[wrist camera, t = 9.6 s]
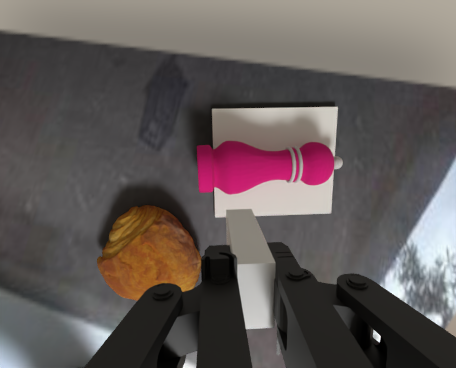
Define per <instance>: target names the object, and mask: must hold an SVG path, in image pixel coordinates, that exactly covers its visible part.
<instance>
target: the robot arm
mask: <svg viewBox="0 0 456 368" xmlns="http://www.w3.org/2000/svg"><path fill="white" fill-rule="evenodd" d="M226 228H227V245H216V246H209V247H208V248H207V249H206V250H205V255H204V256H202V258H201V273H202V282H201V284H200V285H199V286H197V287H195V288H194V289H191V290H188V291H184V292H182V290H181V288H180V287H179V286H178V285H176V284H172V283H161V284H157V285H155V286H152V287H150V288H149V289H148V290H146V291H145V292H144V293H143V295H142V296H141V297H140V298H139V300H138V301H137V302H136V303H135V305H134V306H133V307H132V308H131V310H130V311H129V312H128V313H127V315H126V316H125V317H124V319H123V320H122V321H121V322H120V324H119V325H118V326H117V327H116V329H115V330H114V331H113V332H112V334H111V335H110V336H109V337H108V339H107V340H106V341H105V342H104V344H103V345H102V346H101V347H100V349H99V350H98V351H97V352H96V354H95V355H94V356H93V357H92V359H91V360H90V361H89V362H88V364H87V365H86V366H85V367H84V368H183V365H184V363H185V358H186V354H189V353H192V352H195V351H197V366H196V368H252V363H251V357H250V351H249V345H248V339H247V333H246V329H257V328H274V316H275V319H276V322H277V355H280V349H281V352H282V355H283V359H284V362H285V365H286V368H456V337H455V336H453V335H451V334H450V333H448V332H447V331H446V330H444V329H443V328H441V327H440V326H438V325H437V324H436V323H434V322H433V321H431V320H430V319H428V318H427V317H425V316H424V315H422V314H421V313H419V312H418V311H416V310H415V309H414V308H412V307H411V306H409V305H408V304H406V303H405V302H403V301H402V300H400V299H399V298H397V297H396V296H394V295H393V294H392V293H390V292H389V291H387V290H386V289H384V288H383V287H381V286H380V285H378V284H377V283H375V282H374V281H372V280H371V279H369V278H367V277H364V276H361V275H359V274H343V275H341V276H339V277H338V278H337V285H334V284H327V283H321V282H318V281H317V280H316V278H315V277H314V275H313V274H312V273H311V272H310V271H308V270H306V269H303V268H301V267H300V266H299V264H298V262H297V261H296V259H295V258H294V256H293V254H292V253H291V251H290V249H289V248H288V246H286V245H285V244H283V243H282V242H273V243H266V240H265V238H264V236H263V234H262V231H261V229H260V227H259V225H258V222H257V220H256V218H255V216H254V213H253V211H252V209H232V210H226ZM373 329H374V330H375V331H376V332H377V333H378V334H379V335H380V336H381V340H380V343H379V342H378V341H376V340H375V339H374V338H373Z"/></svg>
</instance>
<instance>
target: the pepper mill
mask: <svg viewBox="0 0 456 368" xmlns="http://www.w3.org/2000/svg"><path fill="white" fill-rule="evenodd" d="M197 162H198V181H199V192H200V193H203V192H212V191H213V189H214V187H216V188H218V189H220V190H221V191H223V192H224V193H226V194H229V195H232V194H239V193H242V192H244V191H247V190H249V189H251V188H253V187H255V186H257V185H259V184H261V183H264V182H267V181H272V180H286V182H287V183H292V182H294V183H298V182H299V181H300V180H301V181H302V182H303V183H305V184H307V185H314V186H315V185H319V184H322V183H324V182H326V181H327V180H328V179H329V178H330V177H331V175H332V173H333V170H334V169H339V168H340V167H341V166H342V164H343V161H342V159H341V158H340V157H338V156H335V157H334V156H333V154H332V152H331V150H330V149H329V148H328V147H327V146H326V145H324V144H322V143H319V142H308V143H306V144H304V145H303V146H301V147H300V148H298V147H296V146H294V147H286V148H285V150H281V151H265V150H261V149H258V148H255V147H253V146H250V145H248V144H245V143H243V142H239V141H225V142H223V143H222V144H220V145H219V146H218V147H217V148H215V149H212V148H211V146H210V145H198V146H197Z"/></svg>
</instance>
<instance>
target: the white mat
mask: <svg viewBox="0 0 456 368" xmlns="http://www.w3.org/2000/svg"><path fill="white" fill-rule="evenodd" d="M337 112H338V107H299V108H237V109H212V127H213V149H215V148H217V147H218V146H219V145H220V144H222V143H223V142H225V141H239V142H243V143H245V144H248V145H250V146H253V147H255V148H258V149H261V150H265V151H281V150H285V148H286V147H294V146H296V147H298V148H300V147H301V146H303V145H304V144H306V143H308V142H319V143H322V144H324V145H326V146H327V147H328V148H329V149H330V150H331V152H332V154H333V156H334V157H335V143H336V127H337ZM333 174H334V170H333V173H332V175H331V177H330V178H329V179H328V180H327V181H326V182H324V183H322V184H319V185H315V186H314V185H307V184H305V183H303V182H302V181H301V180H300V181H299V182H298V183H294V182H292V183H287V182H286V180H272V181H267V182H264V183H261V184H259V185H257V186H255V187H253V188H251V189H249V190H247V191H244V192H242V193H239V194H232V195H229V194H226V193H224V192H223V191H221V190H220V189H218V188H216V187H214V196H215V217H226V210H232V209H252V211H253V213H254V216H269V215H298V214H328V213H331V205H332V189H333Z"/></svg>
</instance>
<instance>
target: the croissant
mask: <svg viewBox="0 0 456 368" xmlns="http://www.w3.org/2000/svg"><path fill="white" fill-rule="evenodd" d="M112 228H113V229H112V230H111V231H110V233H109V241H108V242H107V243H106V247H104V248H103V252H102V254H103V256H102V257H101V256H100V257H98V259H97V264H98V268H99V270H100V272H101V274H102V276H103V277H104V279H105V282H106V283H107V284H108V285H109V287H111V288H112V289H113V290H114V291H115V292H116V293H117V294H118V295H120V296H121V297H124V298H129V299H133V300H139V298H140V297H141V296H142V295H143V293H144V292H145V291H146V290H148V289H149V288H150V287H152V286H155V285H157V284H161V283H172V284H176V285H178V286H179V287H180V288H181V290H182V292H184V291H188V290H191V289H193V288H194V286H195V284H196V282H197V281H198V278H199V273H200V271H201V256H200V254H199V251H198V250H197V249H196V247H195V245H194V241H193V239H192V237H191V236H190V234H189V233H188V231H187V230H185V229H184V228H183V226H182V224H181V223H180V222H179V221H178V219H177V218H176V217H175V216H173V215H172V214H171V213H169V212H168V211H166V210H164V209H161V208H159V207H155V206H150V205H144V206H142V207H137V206H136V207H131V208H130V209H129V211H128V212H126V213H124V214H123V215H121V216H120V217H119V218H117V220H116V221H115V223H114V224H113V227H112Z"/></svg>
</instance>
